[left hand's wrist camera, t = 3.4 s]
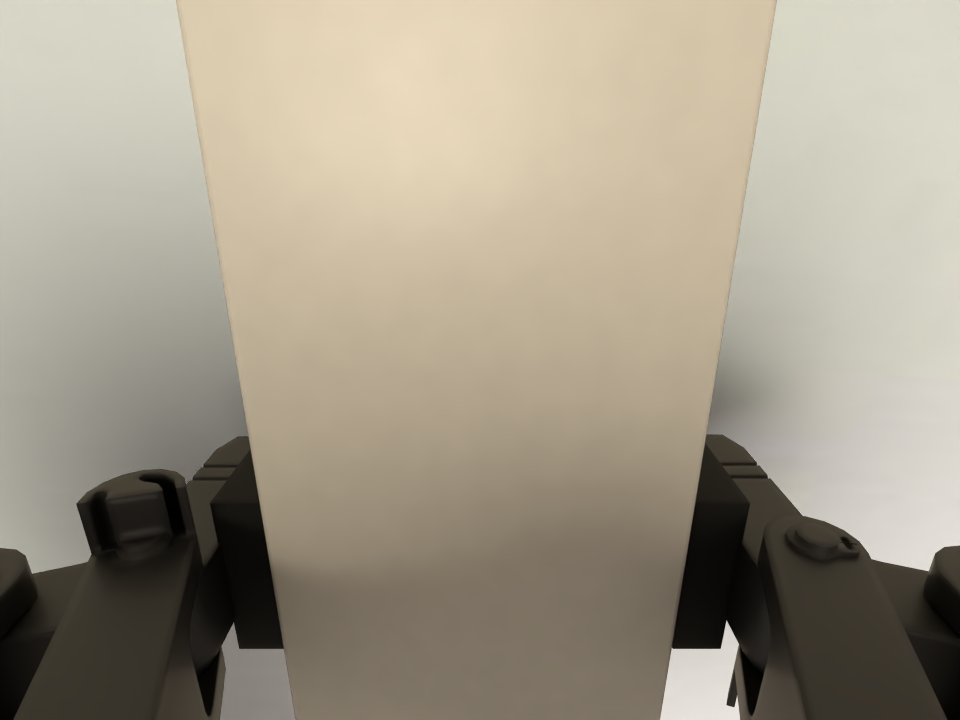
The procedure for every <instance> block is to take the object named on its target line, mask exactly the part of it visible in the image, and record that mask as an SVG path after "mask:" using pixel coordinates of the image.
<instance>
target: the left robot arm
mask: <svg viewBox="0 0 960 720" xmlns="http://www.w3.org/2000/svg"><path fill="white" fill-rule="evenodd" d="M77 508H78V511H79V514H80V517H81V521H82V524H83V527H84V530H85V534H86V537H87V540H88V544H89V547H90V550H91V553H92V555H91V557H90V559H89V561H88V562H86V563H82V564H78V565H73V566H68V567H63V568H59V569H54V570H49V571H44V572H39V573H34V574H32V572H31V570H30V567H29V564H28V561H27V559H26V556H25V555H23V554H22V553H21V552H19V551H18V550H14V549H4V548H0V720H220V714H221V705H222V696H223V688H224V679H225V670H226V668H225V662H224V656H223V651H222V647H221V646H222V644H223V642H224V640H225V638H226V636H227V634H228V632H229V630H230V628H231V626H232V624H233V622H234V625H235V630H236V634H237V639H238V644H239V649H284V646H283V640H282V634H281V628H280V622H279V616H278V610H277V604H276V598H275V592H274V586H273V580H272V574H271V568H270V562H269V556H268V550H267V544H266V538H265V532H264V526H263V519H262V513H261V507H260V501H259V495H258V489H257V483H256V477H255V471H254V465H253V459H252V453H251V447H250V441H249V437H236V438H235V439H233V440H232V441H230V442H228V443H227V444H225V445H223V446H222V447H220V448H218V449H217V450H216V451H215V452H214V453H213V454H212V456H211V457H210V458H209V459H208V460H207V461H206V463H205V464H204V467H203V468H200V470H199V471H198V472H197V473H196V474H195V475H194V477H193V481H189V482H188V484H187V485H186V483H185V478H184V477H183V476H181V475H180V474H178V473H177V472H175V471H169V470H164V469H155V470H142V471H138V472H133V473H129V474H124V475H121V476H119V477H116V478H114V479H111V480H109V481H106V482H104V483H102V484H100V485H99V486H97V487H95V488H94V489H92V490H90V491H89V492H87V493H86V494H85V495H84V496H83V497H82V498H81V500H80V501H79V502H78V503H77ZM726 620H727V621H728V623H729V625H730V627H731V629H732V631H733V633H734V635H735V637H736V639H737V641H738V643H739V647H738V651H737V656H736V661H735V665H734V670H733V674H732V679H731V683H730V688H729V692H728V699H727V705H728V706H732V707H734V706H735V702H736V698H737V695H738V703H739V712H740V720H960V546H951V547H944V548H942V549H941V550H940V551H938V552H937V553H935V556H934V558H933V561H932V564H931V567H930V570H929V571H924V570H919V569H914V568H909V567H904V566H899V565H894V564H889V563H884V562H880V561H876V560H872V559H871V558H870V556H869V554H868V552H867V551H866V550H865V548H864V547H863V546H862V544H861V543H860V542H859V541H858V540H857V539H855V538H854V537H852V536H851V535H850V534H848V533H847V532H845V531H844V530H842V529H840V528H838V527H836V526H833V525H831V524H829V523H827V522H825V521H821V520H817V519H813V518H809V517H806V516H802V515H801V513H800V512H799V511H798V510H797V509H796V508H795V507H794V505H793V504H792V503H791V502H790V501H789V500H788V498H787V497H786V496H785V495H784V494H783V493H782V491H781V490H780V489H779V488H778V487H777V486H776V485H775V483H774V482H773V481H772V480H771V479H768V475H767V474H766V473H765V472H764V471H763V469H762V468H761V467H760V466H757V463H756V461H755V460H754V459H753V458H752V457H751V456H750V454H749V453H748V452H747V451H746V450H745V449H744V448H743V447H742V446H740V445H738V444H737V443H735V442H733V441H732V440H730V439H728V438H727V437H725V436H724V435H706V439H705V445H704V451H703V458H702V464H701V470H700V476H699V482H698V488H697V494H696V501H695V507H694V513H693V519H692V525H691V531H690V538H689V544H688V550H687V556H686V562H685V568H684V574H683V581H682V587H681V593H680V599H679V605H678V611H677V617H676V624H675V630H674V636H673V642H672V649H721V644H722V639H723V634H724V629H725V625H726Z"/></svg>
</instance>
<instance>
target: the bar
mask: <svg viewBox="0 0 960 720" xmlns="http://www.w3.org/2000/svg"><path fill="white" fill-rule="evenodd" d="M776 2H777V0H176V3H177V9H178V15H179V21H180V27H181V33H182V39H183V45H184V51H185V57H186V63H187V69H188V75H189V81H190V87H191V93H192V99H193V105H194V111H195V117H196V123H197V129H198V135H199V141H200V147H201V153H202V159H203V165H204V171H205V177H206V183H207V189H208V195H209V201H210V207H211V213H212V219H213V225H214V231H215V237H216V243H217V249H218V255H219V261H220V267H221V273H222V279H223V285H224V291H225V297H226V303H227V309H228V315H229V321H230V327H231V333H232V339H233V345H234V351H235V357H236V363H237V369H238V375H239V381H240V387H241V393H242V399H243V405H244V411H245V417H246V423H247V429H248V435H249V441H250V447H251V453H252V459H253V465H254V471H255V477H256V483H257V489H258V495H259V501H260V507H261V513H262V519H263V526H264V532H265V538H266V544H267V550H268V556H269V562H270V568H271V574H272V580H273V586H274V592H275V598H276V604H277V610H278V616H279V622H280V628H281V634H282V640H283V646H284V652H285V658H286V664H287V670H288V676H289V682H290V688H291V694H292V700H293V706H294V712H295V718H296V720H660V716H661V710H662V704H663V697H664V691H665V685H666V679H667V673H668V667H669V661H670V654H671V648H672V642H673V636H674V630H675V624H676V617H677V611H678V605H679V599H680V593H681V587H682V581H683V574H684V568H685V562H686V556H687V550H688V544H689V538H690V531H691V525H692V519H693V513H694V507H695V501H696V494H697V488H698V482H699V476H700V470H701V464H702V458H703V451H704V445H705V439H706V433H707V427H708V421H709V415H710V408H711V402H712V396H713V390H714V384H715V378H716V371H717V365H718V359H719V353H720V347H721V341H722V335H723V328H724V322H725V316H726V310H727V304H728V298H729V292H730V285H731V279H732V273H733V267H734V261H735V255H736V248H737V242H738V236H739V230H740V224H741V218H742V212H743V205H744V199H745V193H746V187H747V181H748V175H749V169H750V162H751V156H752V150H753V144H754V138H755V132H756V125H757V119H758V113H759V107H760V101H761V95H762V89H763V82H764V76H765V70H766V64H767V58H768V52H769V46H770V39H771V33H772V27H773V21H774V15H775V9H776Z"/></svg>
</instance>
